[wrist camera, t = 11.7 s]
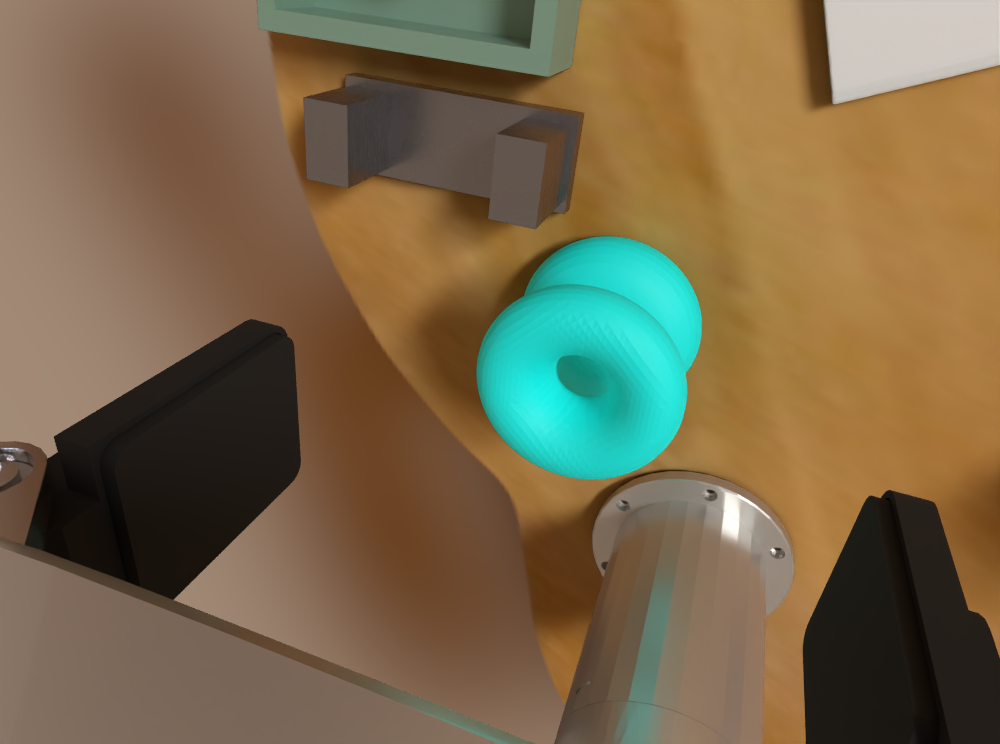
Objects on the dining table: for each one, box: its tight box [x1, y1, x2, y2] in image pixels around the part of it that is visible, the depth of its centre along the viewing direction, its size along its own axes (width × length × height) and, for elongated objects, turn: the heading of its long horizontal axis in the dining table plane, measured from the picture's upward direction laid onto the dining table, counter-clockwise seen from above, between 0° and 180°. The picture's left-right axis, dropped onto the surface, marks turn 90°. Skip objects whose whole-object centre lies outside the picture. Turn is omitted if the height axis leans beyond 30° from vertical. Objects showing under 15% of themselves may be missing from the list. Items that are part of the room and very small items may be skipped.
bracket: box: [303, 73, 584, 229], centre depth 36 cm, size 13×5×6 cm, turn 84°
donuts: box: [476, 236, 702, 480], centre depth 36 cm, size 10×10×10 cm
